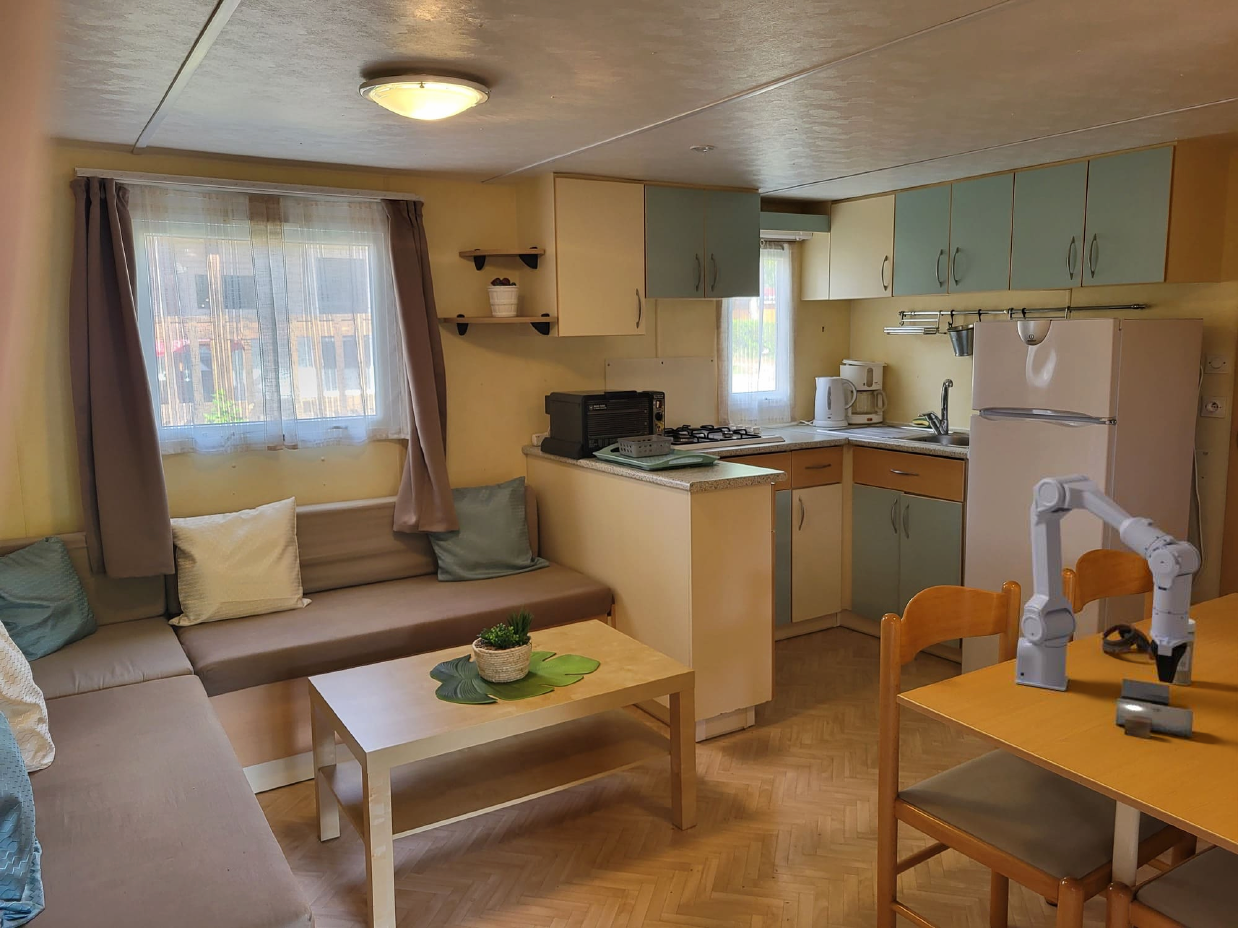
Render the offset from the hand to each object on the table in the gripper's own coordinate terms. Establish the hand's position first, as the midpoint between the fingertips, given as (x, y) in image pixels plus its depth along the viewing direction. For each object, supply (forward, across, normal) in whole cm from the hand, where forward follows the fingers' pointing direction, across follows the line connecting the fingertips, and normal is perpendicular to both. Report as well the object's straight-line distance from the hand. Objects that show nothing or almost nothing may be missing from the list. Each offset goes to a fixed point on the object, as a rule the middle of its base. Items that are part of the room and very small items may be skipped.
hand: (1166, 681), depth 169 cm
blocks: (+10, 0, +4) cm, 10 cm away
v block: (+10, +10, +4) cm, 15 cm away
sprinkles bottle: (+10, +27, 0) cm, 29 cm away
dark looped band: (+10, +40, +11) cm, 42 cm away
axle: (+10, 0, +2) cm, 10 cm away
